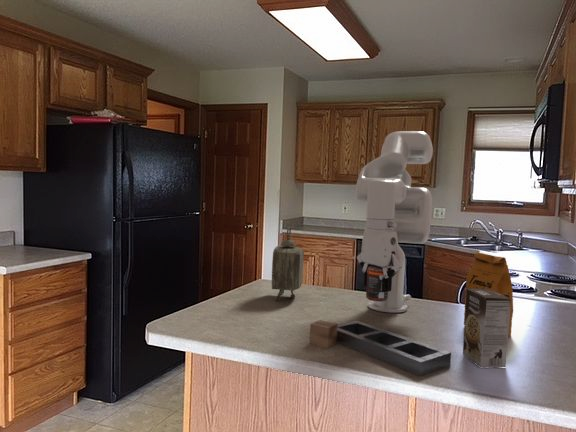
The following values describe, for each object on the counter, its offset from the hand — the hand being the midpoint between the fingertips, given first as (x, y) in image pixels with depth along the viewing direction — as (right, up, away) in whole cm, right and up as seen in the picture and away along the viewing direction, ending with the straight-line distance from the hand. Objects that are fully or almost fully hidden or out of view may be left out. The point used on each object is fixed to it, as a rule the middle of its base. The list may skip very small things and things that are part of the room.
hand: (377, 288), depth 132 cm
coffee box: (+21, -14, -22) cm, 33 cm away
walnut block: (-16, -12, -13) cm, 24 cm away
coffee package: (+31, -13, +2) cm, 34 cm away
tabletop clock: (-25, -9, +32) cm, 42 cm away
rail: (-2, -12, -17) cm, 22 cm away
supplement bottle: (0, -3, 0) cm, 3 cm away
